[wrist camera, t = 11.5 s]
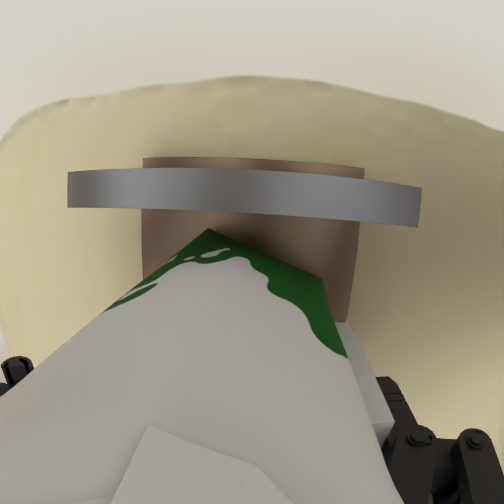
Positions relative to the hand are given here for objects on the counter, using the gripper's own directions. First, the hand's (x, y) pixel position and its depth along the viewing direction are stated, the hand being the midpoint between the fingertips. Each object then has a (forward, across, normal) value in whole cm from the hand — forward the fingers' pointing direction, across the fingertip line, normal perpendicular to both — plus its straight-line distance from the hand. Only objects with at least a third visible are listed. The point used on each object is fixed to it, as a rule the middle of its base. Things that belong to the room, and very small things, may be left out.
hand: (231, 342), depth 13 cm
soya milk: (+5, 0, 0) cm, 5 cm away
